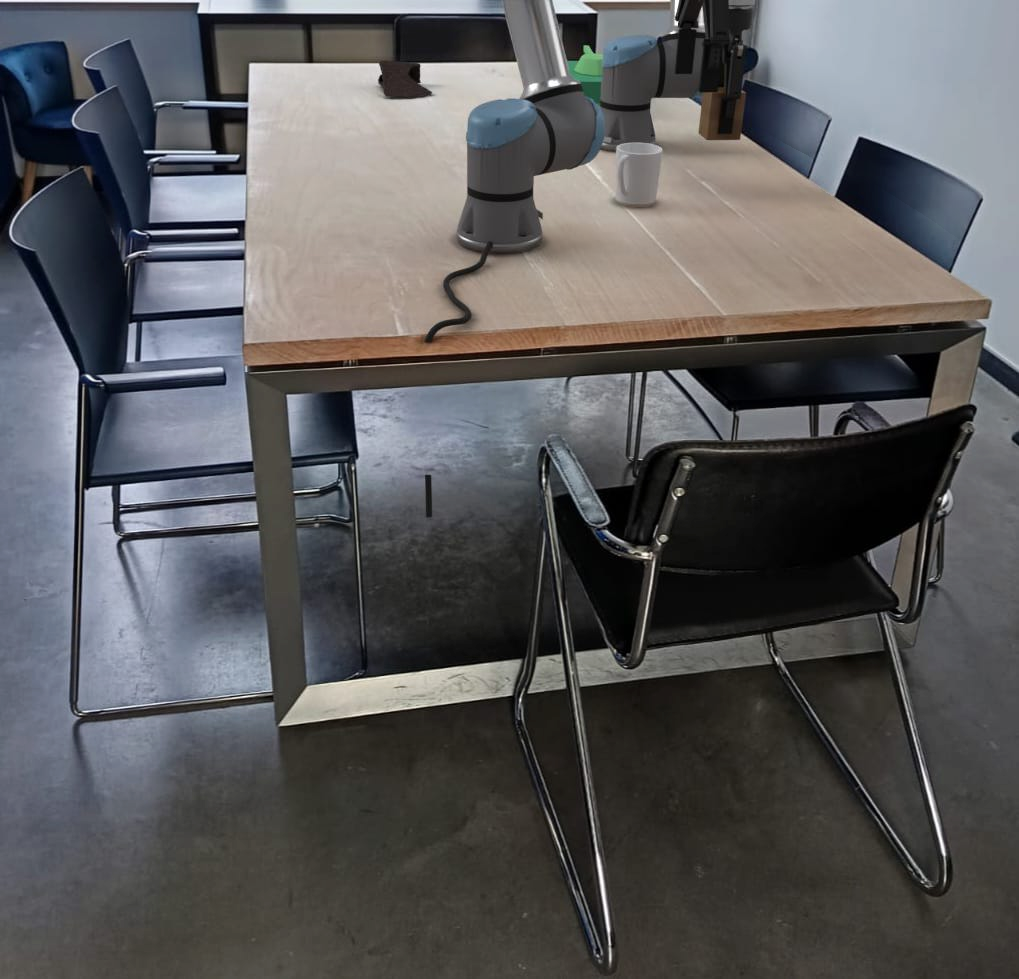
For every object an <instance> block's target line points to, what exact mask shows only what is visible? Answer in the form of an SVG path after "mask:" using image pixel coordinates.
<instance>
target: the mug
mask: <svg viewBox="0 0 1019 979" xmlns="http://www.w3.org/2000/svg"><path fill="white" fill-rule="evenodd" d="M663 152H664V151H663V148H662V147H661V146H659V145H657V144H655V145H653V144H648V143H624V144H620V145H618V146H617V148H616V151H615V153H616V154H615V188H614V189H615V191H614V192H615V194H614V199H615V202H616V203H617V204H619V205H621V206H626V207H630V208H631V207H632V208H645V207H651V206H653V205H654V204H655V203H656V202H657V195H658V188H659V180H660V173H661V166H662V158H663Z"/></svg>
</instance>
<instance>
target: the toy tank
mask: <svg viewBox="0 0 1019 979" xmlns="http://www.w3.org/2000/svg"><path fill="white" fill-rule="evenodd" d="M602 60H603V53H594V52H593V50H592V49H591V47H590V45H586V44H585V45H583V55H581V57H580V58H579V60H567V63H568V67H569V71H570V75H571V76H572V77H573V78H574V79H576V80H578V81H579V82H581V84H582V88H583V92H584V96H586V97H588V98H591V99H593V100H594V101H595V103H596V104H598V105H599V106H600V97H601V80H602Z"/></svg>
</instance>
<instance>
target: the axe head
mask: <svg viewBox="0 0 1019 979" xmlns="http://www.w3.org/2000/svg"><path fill="white" fill-rule="evenodd" d="M378 66H379V68H380V72H381V74H379V75H378V79H377V84H378V85H379V86H380V87H381V88H382V89H383V95H384V96H385V97H388V98H394V99H395V98H396V99H403V98H405V99H406V98H407V99H411V98H418V97H425V96H429V95H432V94H433V91H431V90H430V89H428V88H427V87H425V86H422V85H421V84H422V82H421V63H419V62H410V61H408V62H407V61H397V60H388V59H387V60H380V61H379V62H378Z"/></svg>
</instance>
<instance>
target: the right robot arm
mask: <svg viewBox="0 0 1019 979" xmlns="http://www.w3.org/2000/svg"><path fill="white" fill-rule="evenodd" d="M669 2H670V3H669V28H668V29H667V30H666V31H665V32H664V33H663V35H662V42H658V40H657V38H656V37H655V36H653V35H650V34H649V35H648V34H647V35H642V34H640V35H639V34H638V35H637V34H636V35H635V34H634V35H628V36H622V37H621V36H620V37H617V38H614V39H611V40H610V41H608V42H607V43H606V44H605V46H604V48H603V53H602V54H603V60H602V80H601V97H600V108H601V110H602V112H603V116H604V120H605V136H604V141H603V144H602V146H601V147H600V150H604V151H610V152H616V148H617V146H618V145H620V144H624V143H648V144H653V145H656V140H657V139H656V137H657V136H656V132H655V127H654V122H653V118H652V114H651V108H652V107H651V106H652V105H651V104H652V99H689V100H693V99H702V96H703V92H699V81H700V72H701V62H702V53H703V46H702V45H701V43H702V41H703V39H706V36H705V27H704V17H703V8H701V11H700V13H699V16H698V19H697V21H698V24H699V26H698V27H699V28H691V29H696V30H697V32H696V42H695V52H694V61H693V71H692V74H675V62H676V51H677V41H678V30H679V29H680V28H678V22H676V21H675V16H676V11H677V7H678V2H679V0H670V1H669ZM755 4H756V0H729V37H730V39H729V42H728V43H725V44H724V46H723V49H722V57H721V66H720V75H719V84H718V87H724V97H721V98H720V100H721V110H720V118H719V127H718V134H732V129H733V121H734V113H735V104H736V100H737V99H740V98H741V91H743V82H744V81H743V78H744V69H745V61H746V55H747V51H748V46H747V44H744V41H743V31H748V30H751V28H752V27H753V20H754V12H755V11H754V9H753V7H752V6H754V5H755Z"/></svg>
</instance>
